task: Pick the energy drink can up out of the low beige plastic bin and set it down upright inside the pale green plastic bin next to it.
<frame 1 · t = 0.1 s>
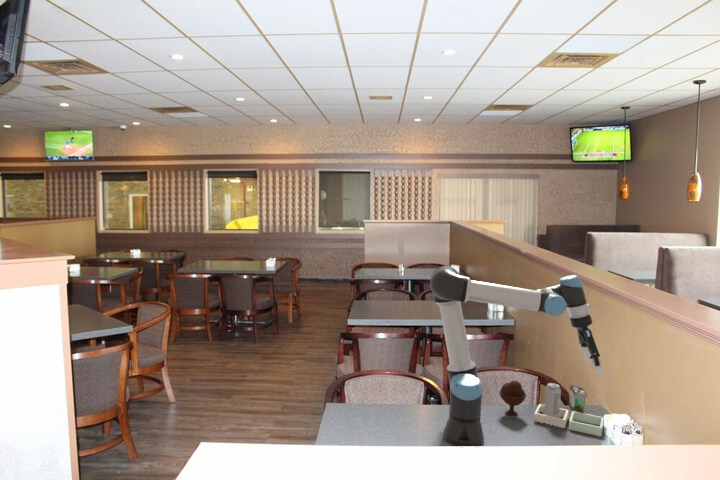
hand: (594, 368, 197), 28 cm above the table, tool tilted 20°, fingers open, 13 cm apart
energy drink can: (551, 420, 215), resting in beige bin
ice cream bowl: (511, 414, 219), on the table
beige bin: (551, 419, 215), on the table
food container: (578, 412, 225), on the table
green bin: (586, 427, 209), on the table
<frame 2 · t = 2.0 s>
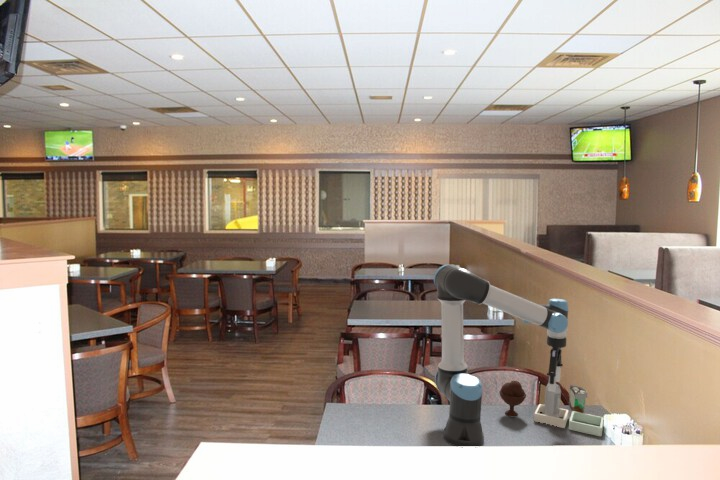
hand: (554, 386, 214), 14 cm above the table, tool pointing down, fingers open, 13 cm apart
nothing on the table moved.
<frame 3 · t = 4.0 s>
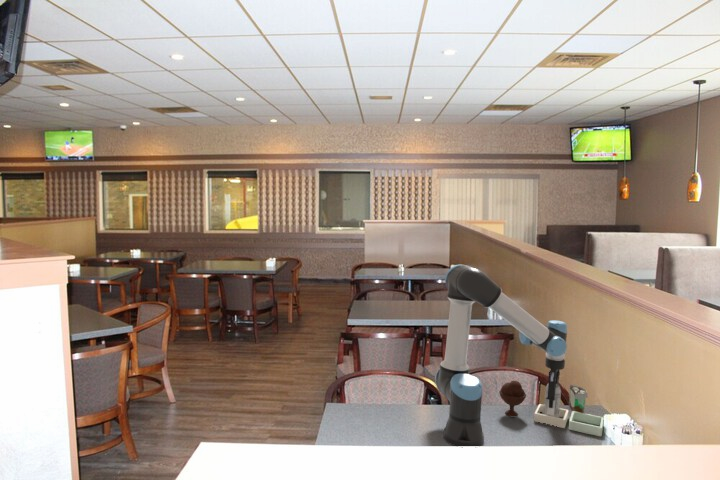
hand: (551, 411, 215), 3 cm above the table, tool pointing down, fingers closed on energy drink can, 6 cm apart
energy drink can: (551, 420, 215), resting in beige bin, touching gripper
everything else where it was.
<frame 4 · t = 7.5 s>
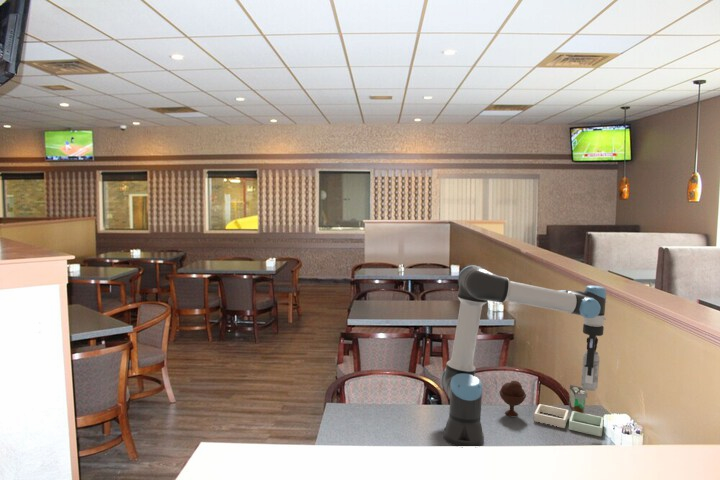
hand: (589, 380, 207), 20 cm above the table, tool pointing down, fingers closed on energy drink can, 6 cm apart
energy drink can: (588, 389, 208), point 16 cm above the table, touching gripper
everything else where it was.
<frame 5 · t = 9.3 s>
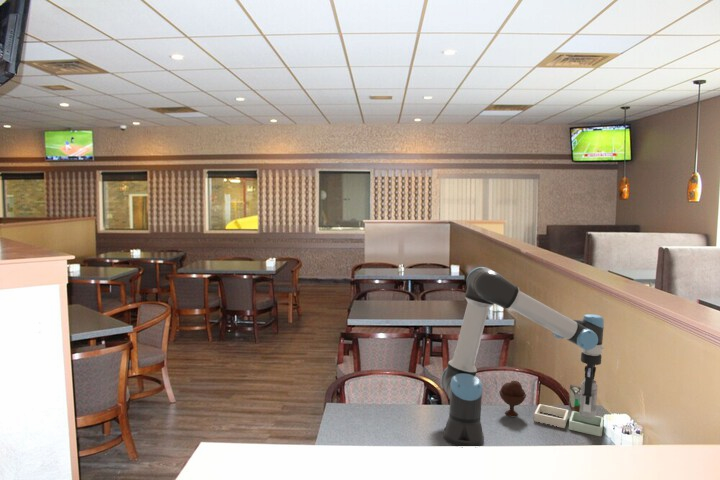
hand: (587, 408, 208), 8 cm above the table, tool pointing down, fingers closed on energy drink can, 6 cm apart
energy drink can: (587, 417, 208), point 4 cm above the table, touching gripper
everything else where it was.
when the fingers open (5 cm above the table, at t = 10.8 s): energy drink can drops 1 cm, resting in green bin.
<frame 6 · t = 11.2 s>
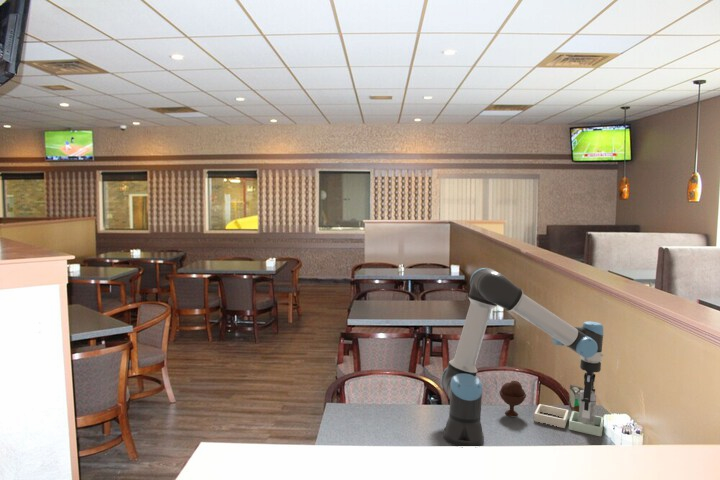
hand: (587, 412, 208), 6 cm above the table, tool pointing down, fingers open, 12 cm apart
energy drink can: (585, 427, 209), resting in green bin
everything else where it was.
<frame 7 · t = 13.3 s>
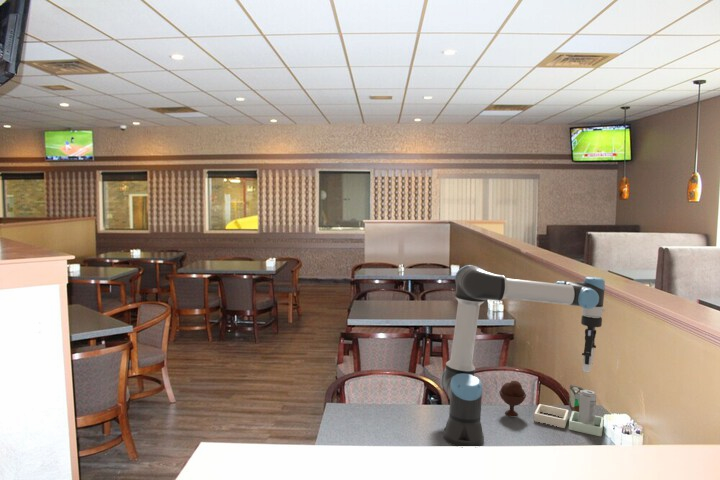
hand: (587, 367, 207), 25 cm above the table, tool pointing down, fingers open, 13 cm apart
nothing on the table moved.
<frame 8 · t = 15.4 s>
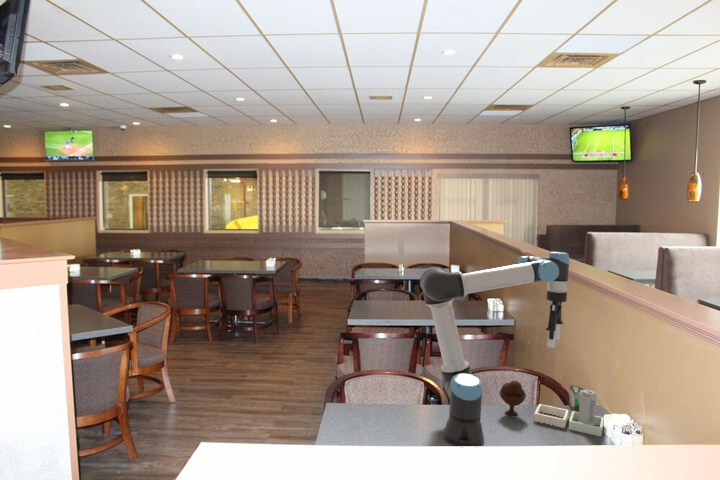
hand: (553, 343, 205), 35 cm above the table, tool pointing down, fingers open, 13 cm apart
nothing on the table moved.
at the end: energy drink can 0.1 cm off-centre on the green bin, point 0.0 cm above the green bin's base; energy drink can tilted 0°; the gripper is holding nothing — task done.
